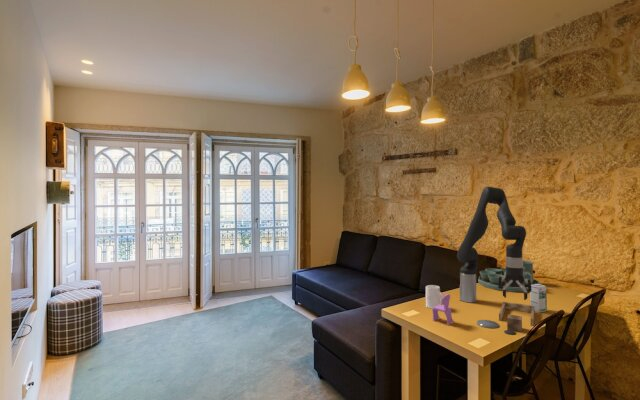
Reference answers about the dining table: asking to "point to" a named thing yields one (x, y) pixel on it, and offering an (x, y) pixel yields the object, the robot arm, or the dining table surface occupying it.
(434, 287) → the mug
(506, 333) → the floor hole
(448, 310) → the toy chair
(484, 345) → the dining table surface
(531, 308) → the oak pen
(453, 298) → the dining table surface
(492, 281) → the tea set
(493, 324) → the slate coaster
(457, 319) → the dining table surface
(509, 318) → the walnut block
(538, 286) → the syrup box
